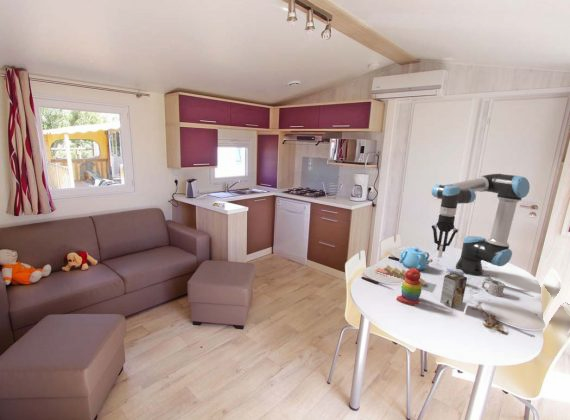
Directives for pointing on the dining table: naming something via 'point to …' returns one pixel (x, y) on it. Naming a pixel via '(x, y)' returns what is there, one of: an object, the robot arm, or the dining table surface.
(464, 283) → the coffee box
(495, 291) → the mug
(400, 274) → the domino
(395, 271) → the domino
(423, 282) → the domino
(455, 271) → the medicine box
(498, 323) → the frog figurine
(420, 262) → the decorative pot
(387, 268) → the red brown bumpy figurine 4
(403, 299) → the stacking bear
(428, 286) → the domino mat
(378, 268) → the domino
